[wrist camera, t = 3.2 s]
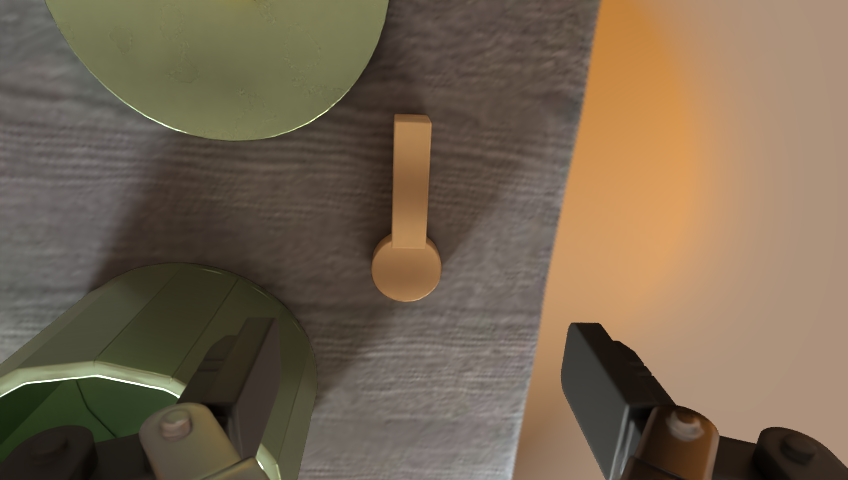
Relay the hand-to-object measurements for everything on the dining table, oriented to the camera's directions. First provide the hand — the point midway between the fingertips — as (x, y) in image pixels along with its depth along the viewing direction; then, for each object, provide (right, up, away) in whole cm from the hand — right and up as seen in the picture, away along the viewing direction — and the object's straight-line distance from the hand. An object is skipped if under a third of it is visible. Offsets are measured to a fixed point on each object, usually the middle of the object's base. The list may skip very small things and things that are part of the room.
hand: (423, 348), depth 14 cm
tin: (-14, -5, +16) cm, 22 cm away
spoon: (-1, +5, +14) cm, 14 cm away
